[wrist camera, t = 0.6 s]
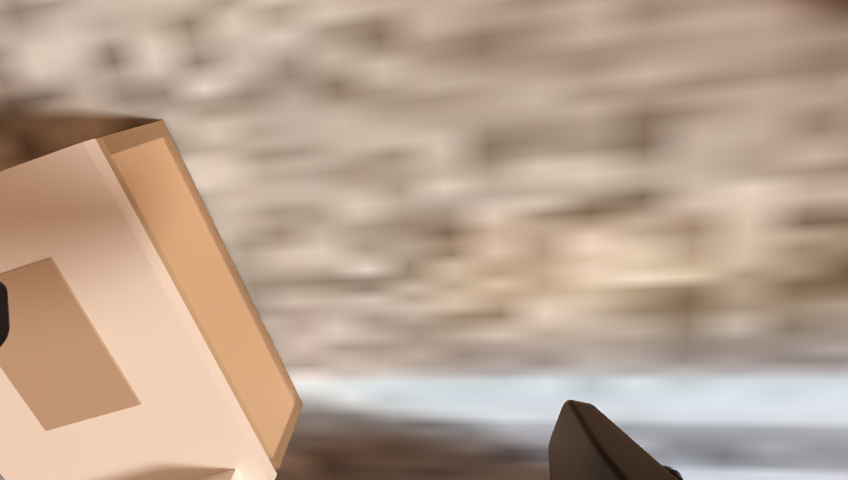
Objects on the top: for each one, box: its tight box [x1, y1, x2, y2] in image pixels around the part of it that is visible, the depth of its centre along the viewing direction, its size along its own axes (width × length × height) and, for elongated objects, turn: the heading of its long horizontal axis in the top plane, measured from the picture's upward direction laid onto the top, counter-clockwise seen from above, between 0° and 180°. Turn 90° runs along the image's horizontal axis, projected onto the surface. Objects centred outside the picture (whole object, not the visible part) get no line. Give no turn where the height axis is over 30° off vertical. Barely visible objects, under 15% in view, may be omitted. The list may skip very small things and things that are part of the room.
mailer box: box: [96, 120, 303, 469], centre depth 21 cm, size 14×10×4 cm
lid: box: [0, 139, 277, 480], centre depth 18 cm, size 14×10×3 cm
